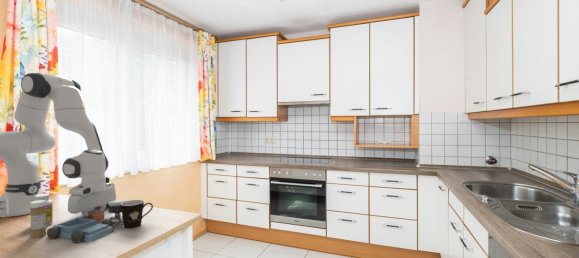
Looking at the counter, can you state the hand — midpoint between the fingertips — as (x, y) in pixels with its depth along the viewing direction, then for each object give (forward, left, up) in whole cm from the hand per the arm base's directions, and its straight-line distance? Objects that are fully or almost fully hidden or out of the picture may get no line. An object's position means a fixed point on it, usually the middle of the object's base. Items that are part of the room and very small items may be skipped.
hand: (94, 217), depth 124 cm
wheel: (+11, +2, +3) cm, 12 cm away
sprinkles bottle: (-5, -18, -2) cm, 19 cm away
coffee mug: (+22, +1, -2) cm, 22 cm away
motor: (-13, +12, -2) cm, 18 cm away
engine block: (0, 0, -2) cm, 2 cm away
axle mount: (+11, +2, -2) cm, 11 cm away
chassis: (+8, -12, -2) cm, 15 cm away
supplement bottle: (-16, -10, -2) cm, 19 cm away
